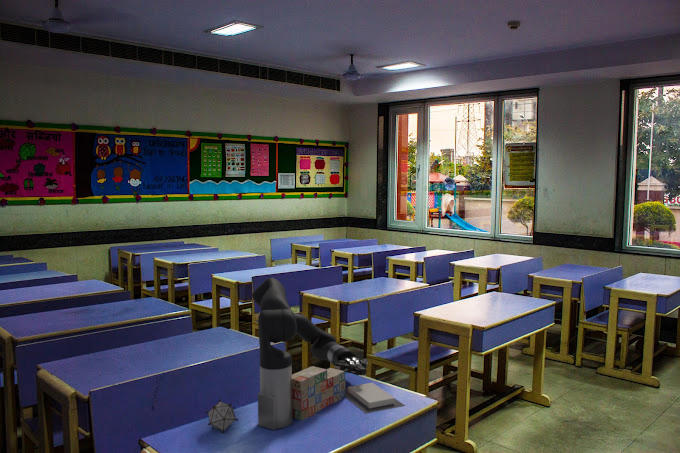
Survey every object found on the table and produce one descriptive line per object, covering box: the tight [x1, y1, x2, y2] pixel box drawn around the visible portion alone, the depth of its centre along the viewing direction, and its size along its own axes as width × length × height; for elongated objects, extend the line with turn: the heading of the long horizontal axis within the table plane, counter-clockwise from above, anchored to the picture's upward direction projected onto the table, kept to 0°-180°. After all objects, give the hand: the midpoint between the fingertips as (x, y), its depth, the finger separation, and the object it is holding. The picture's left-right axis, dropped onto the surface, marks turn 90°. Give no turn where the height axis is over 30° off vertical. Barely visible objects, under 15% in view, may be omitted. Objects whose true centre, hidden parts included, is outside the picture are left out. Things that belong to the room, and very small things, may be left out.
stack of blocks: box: [292, 365, 346, 421], centre depth 170 cm, size 21×6×12 cm, turn 142°
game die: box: [205, 398, 239, 435], centre depth 154 cm, size 9×8×10 cm
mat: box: [345, 387, 406, 415], centre depth 176 cm, size 21×14×1 cm, turn 25°
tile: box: [347, 382, 396, 408], centre depth 176 cm, size 2×9×15 cm
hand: (363, 372), depth 180 cm, fingers closed
